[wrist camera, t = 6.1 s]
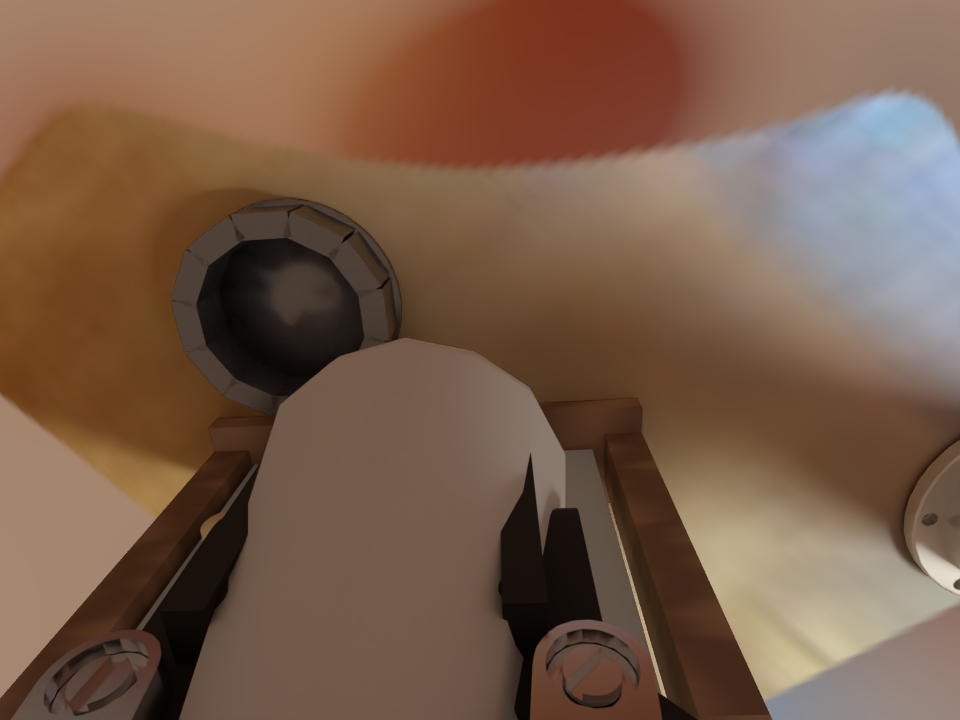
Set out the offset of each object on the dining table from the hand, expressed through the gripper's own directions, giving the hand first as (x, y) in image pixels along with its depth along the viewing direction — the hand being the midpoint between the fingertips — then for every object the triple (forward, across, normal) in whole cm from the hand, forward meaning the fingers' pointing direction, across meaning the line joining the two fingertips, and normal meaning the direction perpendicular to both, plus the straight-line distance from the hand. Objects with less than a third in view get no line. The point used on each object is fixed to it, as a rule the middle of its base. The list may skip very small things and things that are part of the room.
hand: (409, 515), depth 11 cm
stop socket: (+22, +9, +2) cm, 23 cm away
